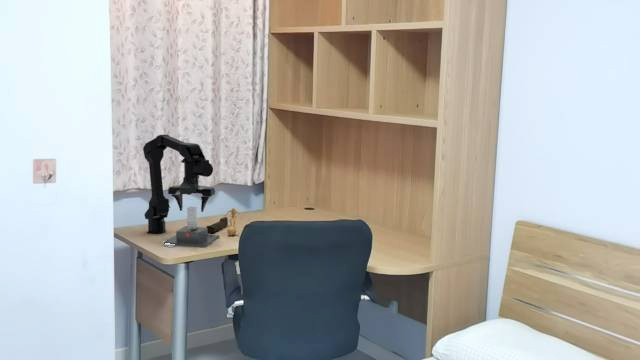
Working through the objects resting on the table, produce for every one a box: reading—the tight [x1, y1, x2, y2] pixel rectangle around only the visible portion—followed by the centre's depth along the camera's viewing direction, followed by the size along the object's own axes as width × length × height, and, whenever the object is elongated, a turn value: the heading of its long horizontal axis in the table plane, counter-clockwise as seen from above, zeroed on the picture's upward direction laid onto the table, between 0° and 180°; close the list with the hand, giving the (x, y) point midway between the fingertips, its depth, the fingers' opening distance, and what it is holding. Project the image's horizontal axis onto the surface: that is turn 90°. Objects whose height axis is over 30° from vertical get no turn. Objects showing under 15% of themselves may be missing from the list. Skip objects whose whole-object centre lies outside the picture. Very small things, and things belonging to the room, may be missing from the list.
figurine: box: [223, 207, 243, 237], centre depth 309 cm, size 8×6×12 cm
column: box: [186, 206, 198, 230], centre depth 296 cm, size 3×3×9 cm
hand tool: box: [205, 216, 229, 235], centre depth 320 cm, size 19×4×5 cm, turn 161°
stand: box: [163, 225, 220, 248], centre depth 297 cm, size 18×18×6 cm
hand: (191, 211), depth 296 cm, fingers open, 9 cm apart
